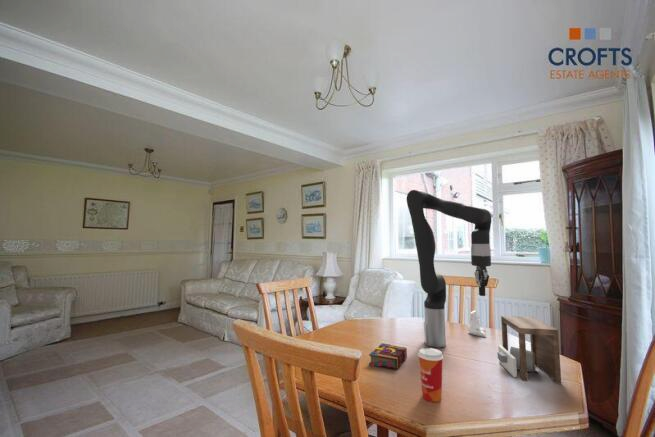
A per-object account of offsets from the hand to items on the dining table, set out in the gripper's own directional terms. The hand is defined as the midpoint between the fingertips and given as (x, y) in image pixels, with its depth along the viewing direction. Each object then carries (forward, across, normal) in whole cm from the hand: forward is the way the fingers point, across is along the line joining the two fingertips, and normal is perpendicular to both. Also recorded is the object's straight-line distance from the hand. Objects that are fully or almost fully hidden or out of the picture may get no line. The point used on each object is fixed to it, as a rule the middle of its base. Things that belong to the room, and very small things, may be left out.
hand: (482, 295), depth 128 cm
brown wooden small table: (+26, +10, +13) cm, 31 cm away
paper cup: (+26, +38, -25) cm, 53 cm away
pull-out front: (+25, +10, +4) cm, 28 cm away
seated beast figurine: (+26, -36, +6) cm, 45 cm away
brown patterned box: (+27, +12, -39) cm, 49 cm away
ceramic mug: (+26, +7, +12) cm, 29 cm away
